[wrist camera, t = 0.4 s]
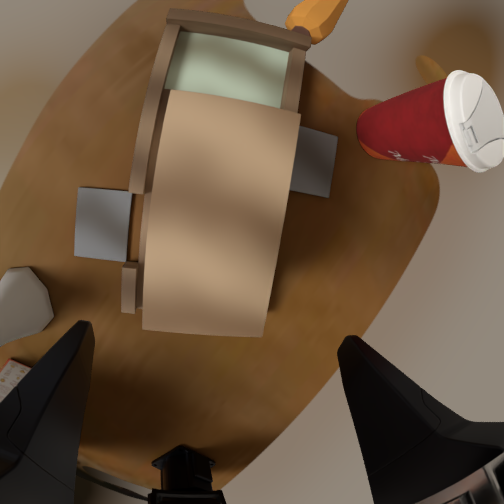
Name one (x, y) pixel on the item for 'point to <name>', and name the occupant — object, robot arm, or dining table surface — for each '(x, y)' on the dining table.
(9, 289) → the flask
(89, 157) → the dining table surface
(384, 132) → the paper cup
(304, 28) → the carrot
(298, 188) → the tan shallow tray
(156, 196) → the tea box
